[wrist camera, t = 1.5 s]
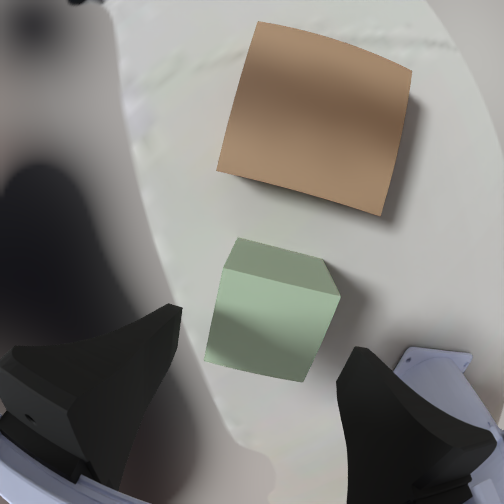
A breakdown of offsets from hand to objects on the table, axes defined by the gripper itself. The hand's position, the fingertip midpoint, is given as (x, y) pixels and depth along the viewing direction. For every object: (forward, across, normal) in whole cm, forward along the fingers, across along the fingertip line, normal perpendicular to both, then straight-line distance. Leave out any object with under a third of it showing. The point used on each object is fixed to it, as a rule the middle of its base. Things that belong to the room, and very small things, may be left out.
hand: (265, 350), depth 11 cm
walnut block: (+7, 0, -10) cm, 12 cm away
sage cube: (+6, 0, 0) cm, 6 cm away
